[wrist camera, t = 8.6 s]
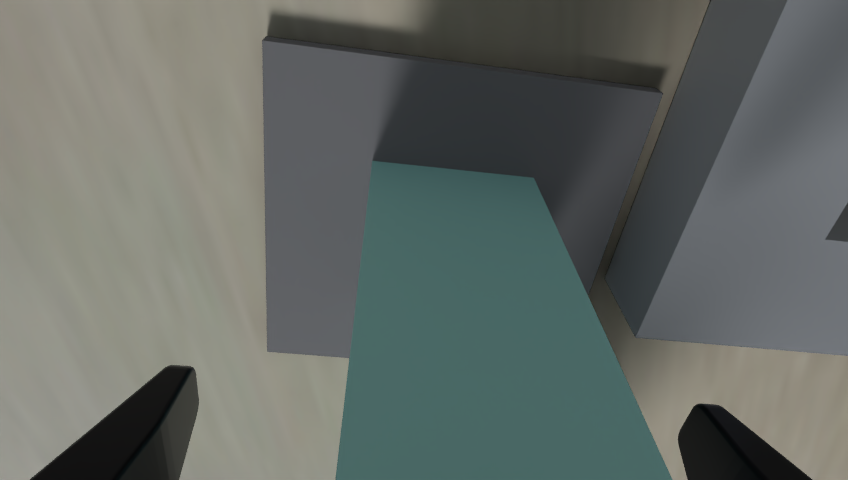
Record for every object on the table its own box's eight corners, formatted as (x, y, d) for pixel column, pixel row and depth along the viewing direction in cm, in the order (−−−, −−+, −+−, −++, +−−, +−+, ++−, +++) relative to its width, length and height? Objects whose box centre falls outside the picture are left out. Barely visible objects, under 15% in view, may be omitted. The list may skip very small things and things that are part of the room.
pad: (656, 88, 13) (662, 93, 13) (556, 364, 18) (558, 373, 17) (266, 36, 12) (262, 40, 12) (269, 342, 17) (267, 351, 16)
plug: (533, 177, 14) (720, 582, 6) (501, 304, 16) (603, 730, 8) (372, 160, 13) (325, 569, 5) (360, 292, 15) (314, 728, 7)
